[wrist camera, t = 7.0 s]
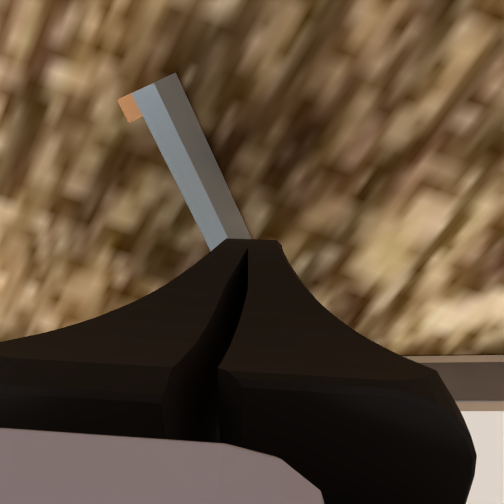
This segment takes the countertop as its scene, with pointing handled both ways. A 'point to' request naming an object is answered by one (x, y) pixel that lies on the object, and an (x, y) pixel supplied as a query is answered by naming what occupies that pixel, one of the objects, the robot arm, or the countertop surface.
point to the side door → (187, 157)
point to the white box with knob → (478, 415)
